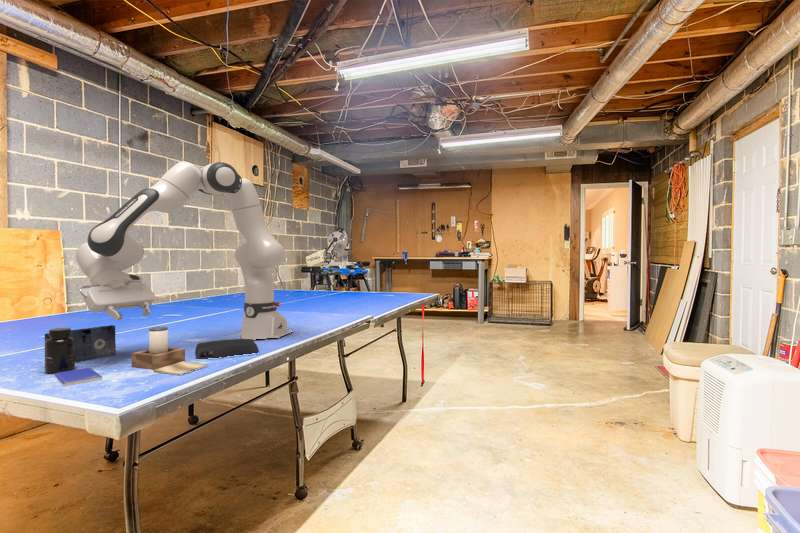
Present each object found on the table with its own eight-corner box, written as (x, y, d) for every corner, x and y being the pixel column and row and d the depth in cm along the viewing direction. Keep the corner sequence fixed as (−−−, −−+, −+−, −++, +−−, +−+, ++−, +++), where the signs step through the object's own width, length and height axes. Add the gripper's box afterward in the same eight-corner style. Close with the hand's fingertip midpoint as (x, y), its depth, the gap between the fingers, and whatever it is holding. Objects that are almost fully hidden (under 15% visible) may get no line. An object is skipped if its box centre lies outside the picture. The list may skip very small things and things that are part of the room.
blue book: (102, 375, 112) (91, 367, 120) (63, 382, 105) (54, 372, 114) (102, 381, 112) (91, 372, 120) (63, 388, 105) (54, 378, 114)
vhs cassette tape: (112, 354, 140) (112, 324, 139) (116, 355, 138) (116, 325, 138) (44, 366, 124) (43, 333, 124) (48, 368, 122) (47, 334, 122)
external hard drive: (194, 353, 143) (194, 341, 143) (254, 348, 152) (254, 336, 152) (195, 362, 131) (195, 349, 131) (259, 356, 140) (259, 343, 140)
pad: (182, 363, 128) (182, 361, 128) (208, 366, 125) (208, 364, 125) (153, 372, 119) (153, 370, 118) (180, 375, 115) (180, 373, 115)
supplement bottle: (39, 374, 115) (38, 331, 115) (52, 368, 122) (51, 327, 122) (68, 373, 117) (67, 330, 117) (80, 366, 124) (79, 326, 123)
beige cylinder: (159, 361, 130) (159, 326, 130) (172, 362, 129) (171, 327, 128) (145, 365, 126) (144, 329, 125) (157, 367, 124) (157, 330, 124)
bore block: (160, 358, 133) (160, 346, 133) (185, 361, 130) (184, 348, 130) (131, 366, 124) (131, 353, 124) (156, 369, 121) (156, 356, 121)
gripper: (81, 279, 122) (106, 314, 119) (145, 276, 142) (167, 306, 139) (71, 293, 124) (95, 328, 121) (135, 288, 143) (157, 318, 140)
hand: (134, 316), depth 130 cm, fingers open, 8 cm apart
